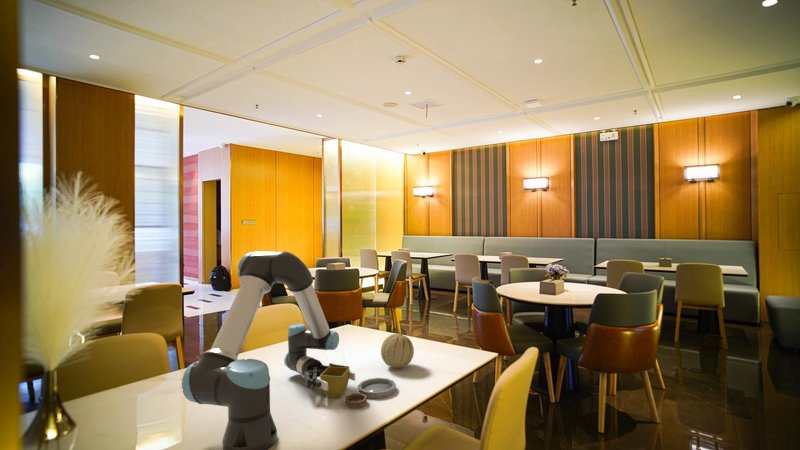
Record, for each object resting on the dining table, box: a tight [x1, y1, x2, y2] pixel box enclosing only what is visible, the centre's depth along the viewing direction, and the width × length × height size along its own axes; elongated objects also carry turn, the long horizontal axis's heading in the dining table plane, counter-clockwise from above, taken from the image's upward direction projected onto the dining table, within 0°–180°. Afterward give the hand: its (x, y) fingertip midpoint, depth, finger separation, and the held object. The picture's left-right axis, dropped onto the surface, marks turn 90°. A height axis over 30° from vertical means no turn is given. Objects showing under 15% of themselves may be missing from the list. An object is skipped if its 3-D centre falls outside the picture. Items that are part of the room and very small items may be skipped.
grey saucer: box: [357, 377, 397, 399], centre depth 152 cm, size 14×14×2 cm
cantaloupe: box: [380, 331, 415, 369], centre depth 176 cm, size 15×15×15 cm
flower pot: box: [319, 367, 351, 399], centre depth 148 cm, size 9×9×9 cm
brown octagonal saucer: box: [344, 392, 368, 410], centre depth 141 cm, size 8×8×2 cm
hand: (341, 381), depth 145 cm, fingers closed on flower pot, 11 cm apart
